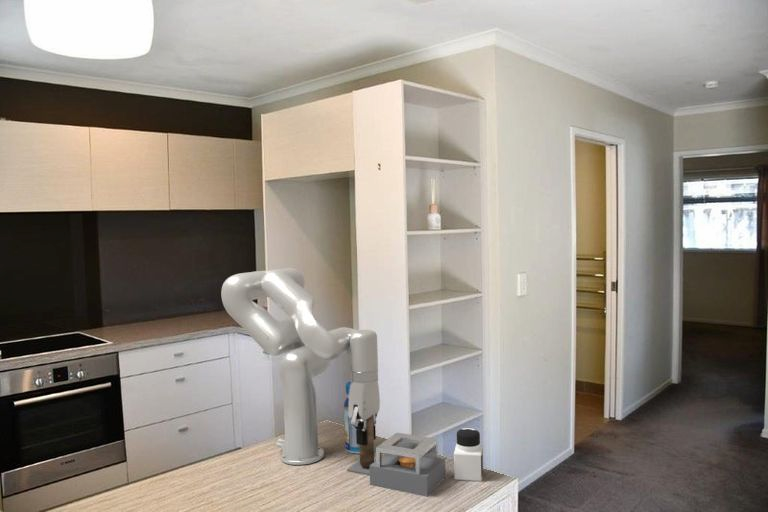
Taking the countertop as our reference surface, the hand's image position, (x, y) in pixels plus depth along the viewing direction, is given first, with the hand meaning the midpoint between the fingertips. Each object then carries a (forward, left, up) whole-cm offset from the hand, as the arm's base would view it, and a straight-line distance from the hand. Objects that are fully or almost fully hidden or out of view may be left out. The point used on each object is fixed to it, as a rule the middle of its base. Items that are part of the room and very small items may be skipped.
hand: (366, 441), depth 161 cm
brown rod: (0, 0, -6) cm, 6 cm away
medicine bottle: (+27, +7, -8) cm, 29 cm away
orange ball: (+14, -3, -7) cm, 16 cm away
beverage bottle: (-9, +11, -8) cm, 16 cm away
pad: (0, 0, -7) cm, 7 cm away
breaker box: (+14, -3, -7) cm, 16 cm away
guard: (+14, -3, -2) cm, 15 cm away
